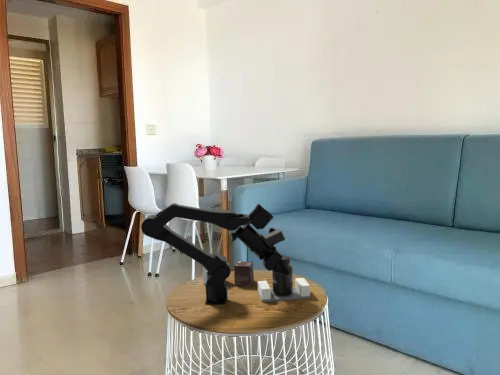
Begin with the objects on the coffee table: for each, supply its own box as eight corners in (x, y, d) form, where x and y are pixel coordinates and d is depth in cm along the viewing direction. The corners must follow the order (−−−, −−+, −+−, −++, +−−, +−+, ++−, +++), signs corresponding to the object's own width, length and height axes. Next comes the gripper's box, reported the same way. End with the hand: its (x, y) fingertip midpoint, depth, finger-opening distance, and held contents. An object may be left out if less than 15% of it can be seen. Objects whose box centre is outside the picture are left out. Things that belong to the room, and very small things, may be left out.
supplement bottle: (268, 293, 139) (268, 258, 138) (279, 287, 145) (279, 253, 143) (286, 297, 135) (285, 261, 134) (296, 291, 141) (296, 256, 139)
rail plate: (261, 302, 135) (261, 289, 134) (257, 292, 144) (257, 280, 143) (310, 298, 137) (310, 286, 136) (303, 288, 146) (303, 277, 145)
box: (250, 286, 150) (250, 266, 150) (234, 285, 152) (233, 265, 151) (254, 280, 156) (253, 261, 155) (238, 280, 157) (237, 261, 157)
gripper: (275, 227, 128) (310, 260, 130) (265, 216, 146) (296, 246, 149) (250, 254, 128) (286, 286, 130) (243, 240, 146) (275, 269, 149)
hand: (286, 270), depth 139 cm, fingers open, 7 cm apart
